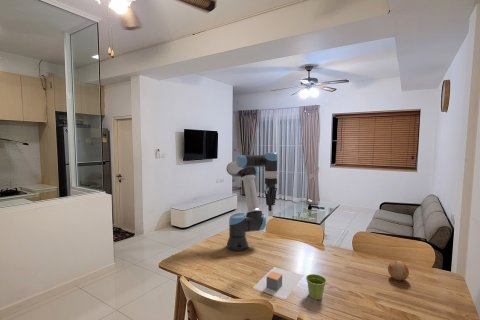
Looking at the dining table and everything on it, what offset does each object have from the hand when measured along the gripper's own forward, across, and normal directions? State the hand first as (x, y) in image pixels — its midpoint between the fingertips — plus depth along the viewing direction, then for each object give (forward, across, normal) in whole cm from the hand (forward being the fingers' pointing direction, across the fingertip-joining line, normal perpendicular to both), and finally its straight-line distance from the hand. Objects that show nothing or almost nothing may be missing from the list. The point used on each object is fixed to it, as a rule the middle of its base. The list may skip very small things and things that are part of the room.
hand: (270, 215), depth 155 cm
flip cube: (+23, -24, -14) cm, 36 cm away
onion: (+30, +20, -67) cm, 76 cm away
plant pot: (+30, -20, -34) cm, 49 cm away
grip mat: (+29, -18, -14) cm, 37 cm away
